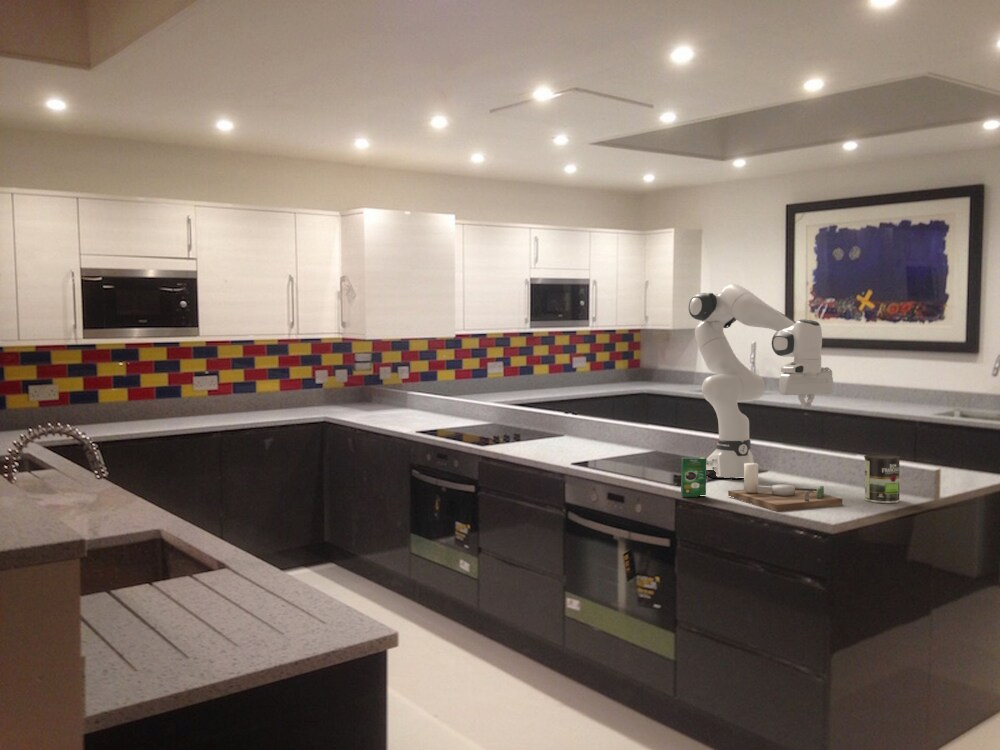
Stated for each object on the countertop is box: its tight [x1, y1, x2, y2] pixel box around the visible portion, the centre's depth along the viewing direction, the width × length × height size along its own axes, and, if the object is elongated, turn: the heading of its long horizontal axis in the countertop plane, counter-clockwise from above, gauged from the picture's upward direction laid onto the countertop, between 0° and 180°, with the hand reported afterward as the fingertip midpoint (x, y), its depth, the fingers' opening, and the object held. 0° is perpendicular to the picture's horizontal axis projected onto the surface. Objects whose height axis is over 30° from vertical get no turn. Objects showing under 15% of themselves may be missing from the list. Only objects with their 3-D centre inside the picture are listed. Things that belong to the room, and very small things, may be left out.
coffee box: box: [680, 457, 707, 498], centre depth 284 cm, size 8×3×13 cm, turn 88°
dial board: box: [727, 485, 843, 512], centre depth 274 cm, size 26×24×5 cm
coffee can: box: [864, 453, 901, 504], centre depth 271 cm, size 10×10×14 cm
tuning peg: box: [743, 462, 818, 496], centre depth 274 cm, size 22×7×9 cm, turn 66°
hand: (805, 407), depth 292 cm, fingers closed
